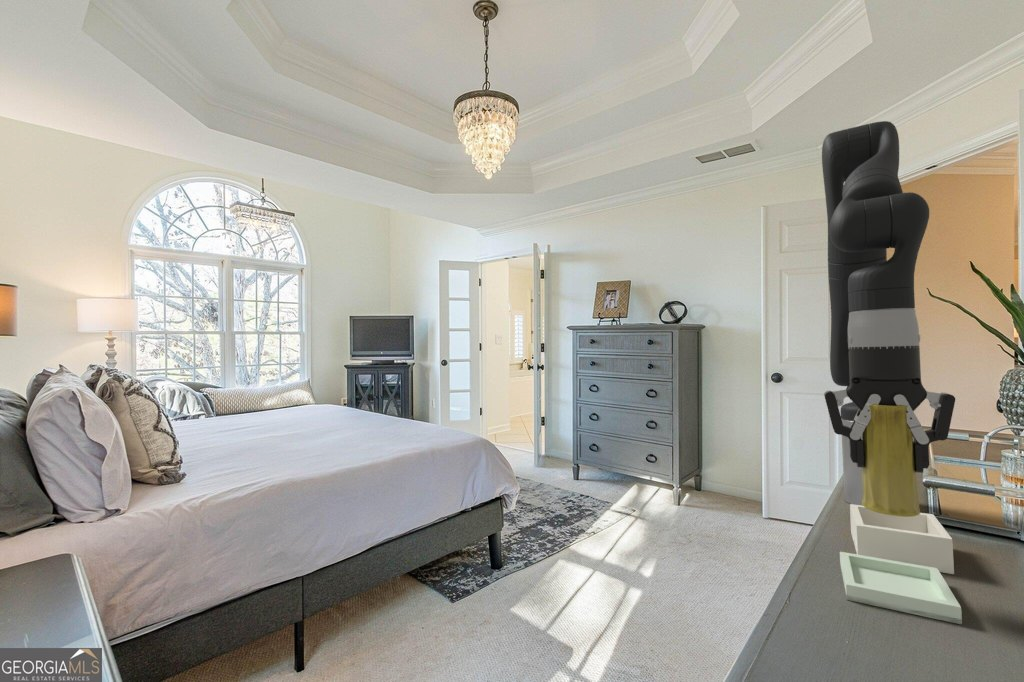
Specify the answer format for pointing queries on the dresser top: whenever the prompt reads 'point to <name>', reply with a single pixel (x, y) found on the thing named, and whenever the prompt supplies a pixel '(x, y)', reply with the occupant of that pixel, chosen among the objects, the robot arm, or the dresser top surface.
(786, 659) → the dresser top surface
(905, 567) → the tray
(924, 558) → the sleeve
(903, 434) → the vase
